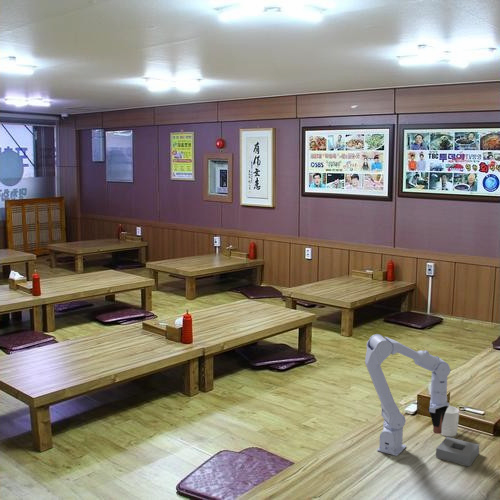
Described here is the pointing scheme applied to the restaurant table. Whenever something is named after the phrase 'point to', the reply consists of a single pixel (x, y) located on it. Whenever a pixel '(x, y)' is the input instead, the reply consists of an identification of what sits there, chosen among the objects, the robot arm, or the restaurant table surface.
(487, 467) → the restaurant table surface
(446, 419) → the white cup
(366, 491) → the restaurant table surface
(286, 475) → the restaurant table surface
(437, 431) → the pin
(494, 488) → the restaurant table surface
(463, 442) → the block
